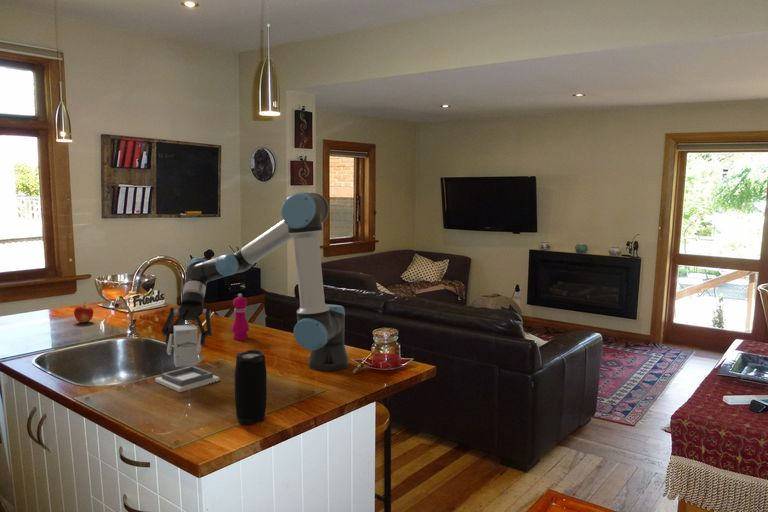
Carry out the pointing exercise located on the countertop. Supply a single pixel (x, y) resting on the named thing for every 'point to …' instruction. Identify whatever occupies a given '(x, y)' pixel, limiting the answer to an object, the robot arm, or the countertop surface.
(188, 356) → the supplement box
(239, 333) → the pepper mill
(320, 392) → the countertop surface
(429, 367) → the countertop surface
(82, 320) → the apple
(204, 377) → the collar board
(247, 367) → the portable speaker
